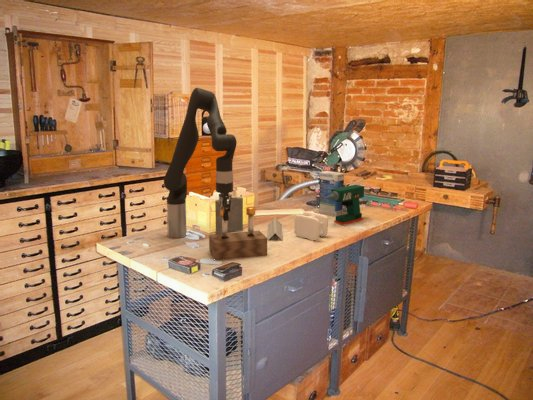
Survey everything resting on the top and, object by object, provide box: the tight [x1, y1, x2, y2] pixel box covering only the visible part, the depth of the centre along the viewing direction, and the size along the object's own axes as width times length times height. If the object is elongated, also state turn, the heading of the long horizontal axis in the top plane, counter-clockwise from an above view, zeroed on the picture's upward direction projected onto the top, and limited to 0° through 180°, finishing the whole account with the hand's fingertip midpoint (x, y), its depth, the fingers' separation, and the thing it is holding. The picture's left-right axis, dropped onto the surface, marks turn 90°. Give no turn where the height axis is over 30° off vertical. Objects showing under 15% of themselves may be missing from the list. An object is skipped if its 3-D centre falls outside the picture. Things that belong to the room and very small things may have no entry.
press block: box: [208, 230, 268, 261], centre depth 199 cm, size 24×12×8 cm, turn 108°
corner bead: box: [266, 216, 284, 242], centre depth 232 cm, size 29×9×5 cm, turn 179°
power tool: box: [325, 184, 365, 226], centre depth 248 cm, size 32×7×20 cm, turn 131°
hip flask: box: [214, 193, 244, 234], centre depth 230 cm, size 16×4×20 cm, turn 125°
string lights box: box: [318, 170, 345, 218], centre depth 267 cm, size 13×8×26 cm, turn 49°
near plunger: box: [220, 209, 229, 239], centre depth 195 cm, size 4×4×15 cm
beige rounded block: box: [293, 211, 329, 241], centre depth 224 cm, size 15×11×12 cm
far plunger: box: [245, 206, 256, 237], centre depth 199 cm, size 4×4×15 cm
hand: (224, 218), depth 194 cm, fingers closed on near plunger, 4 cm apart
